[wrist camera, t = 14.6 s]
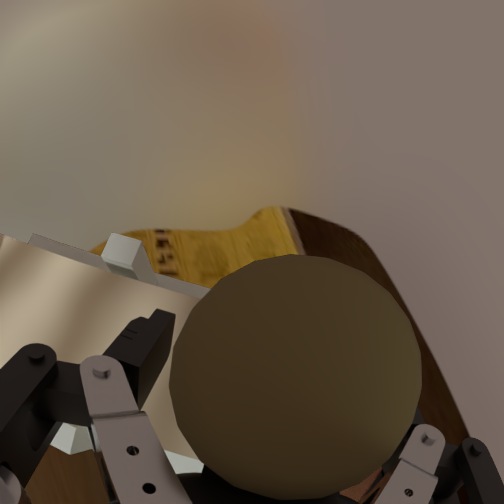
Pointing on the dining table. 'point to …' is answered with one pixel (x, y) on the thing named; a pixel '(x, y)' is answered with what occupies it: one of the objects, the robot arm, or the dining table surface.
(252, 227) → the dining table surface
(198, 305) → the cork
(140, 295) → the beam
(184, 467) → the beam stand
